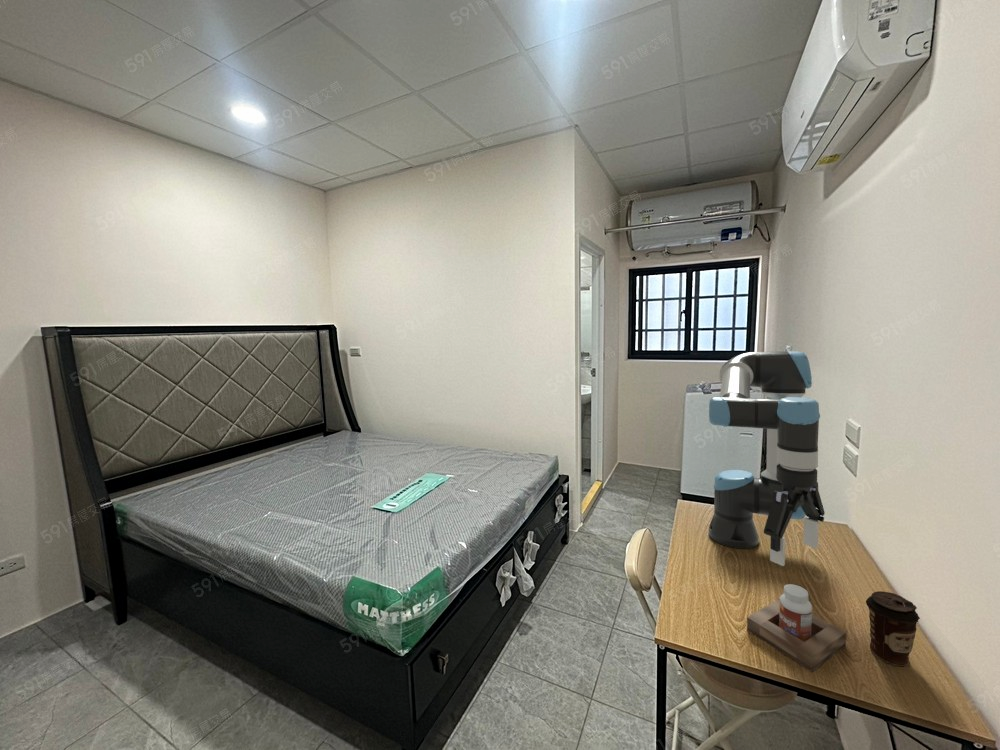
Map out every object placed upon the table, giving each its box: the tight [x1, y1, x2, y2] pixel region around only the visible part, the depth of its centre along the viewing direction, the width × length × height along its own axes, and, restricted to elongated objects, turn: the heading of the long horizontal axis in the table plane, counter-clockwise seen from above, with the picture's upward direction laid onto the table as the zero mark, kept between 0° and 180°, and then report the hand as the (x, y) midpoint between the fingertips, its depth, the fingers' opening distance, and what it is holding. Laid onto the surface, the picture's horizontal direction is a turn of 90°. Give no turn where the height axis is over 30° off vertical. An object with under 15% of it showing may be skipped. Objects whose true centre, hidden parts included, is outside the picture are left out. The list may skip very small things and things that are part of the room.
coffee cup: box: [865, 591, 921, 667], centre depth 89 cm, size 9×8×13 cm
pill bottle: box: [779, 583, 813, 642], centre depth 95 cm, size 6×6×11 cm
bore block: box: [746, 598, 847, 672], centre depth 96 cm, size 14×14×4 cm
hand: (794, 554), depth 95 cm, fingers open, 13 cm apart
